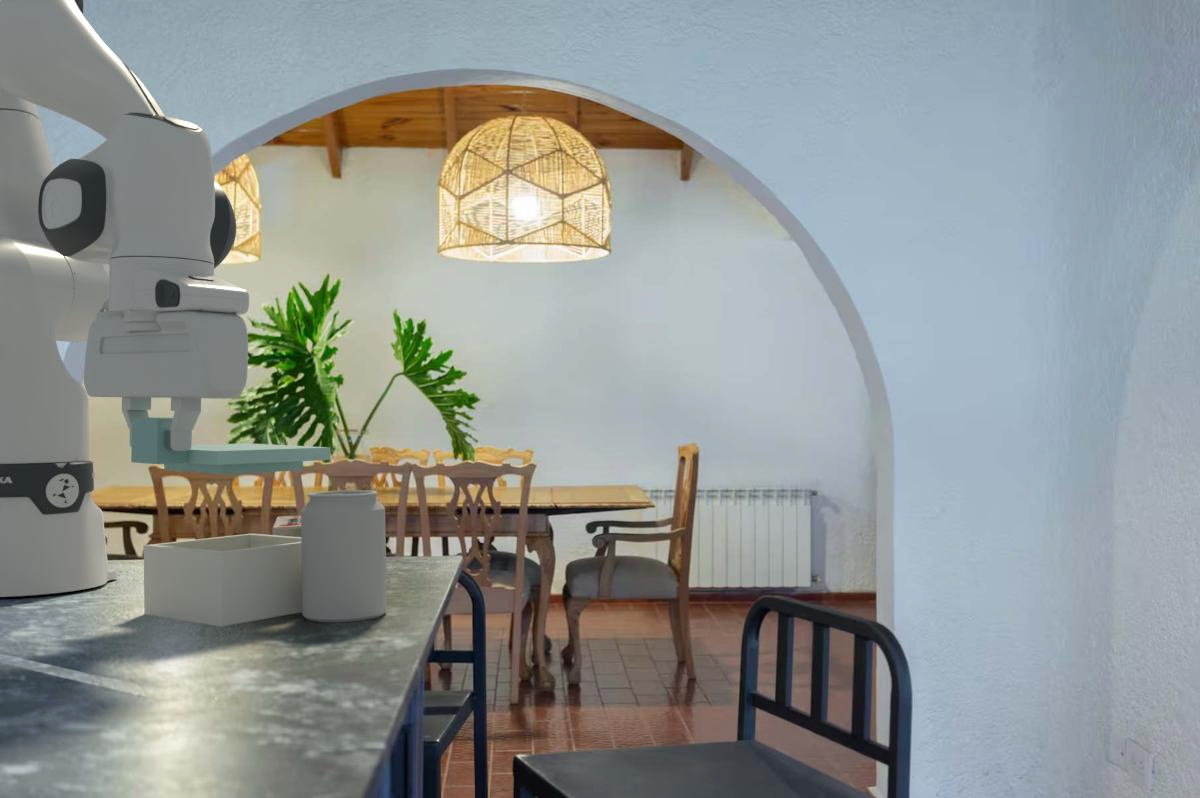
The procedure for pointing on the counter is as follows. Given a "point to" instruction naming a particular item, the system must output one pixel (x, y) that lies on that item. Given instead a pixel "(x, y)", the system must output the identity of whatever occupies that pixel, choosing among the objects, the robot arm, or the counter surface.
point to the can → (343, 556)
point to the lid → (216, 453)
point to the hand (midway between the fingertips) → (160, 449)
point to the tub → (224, 579)
